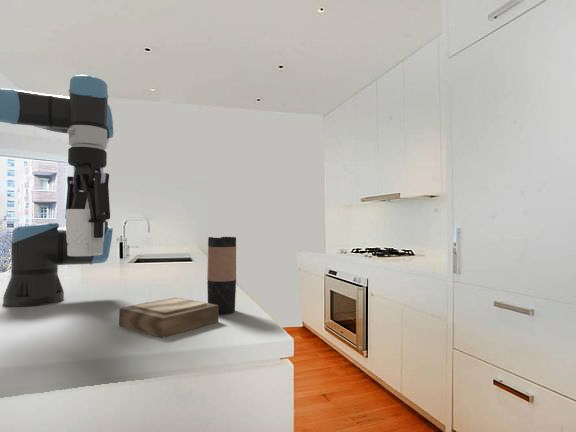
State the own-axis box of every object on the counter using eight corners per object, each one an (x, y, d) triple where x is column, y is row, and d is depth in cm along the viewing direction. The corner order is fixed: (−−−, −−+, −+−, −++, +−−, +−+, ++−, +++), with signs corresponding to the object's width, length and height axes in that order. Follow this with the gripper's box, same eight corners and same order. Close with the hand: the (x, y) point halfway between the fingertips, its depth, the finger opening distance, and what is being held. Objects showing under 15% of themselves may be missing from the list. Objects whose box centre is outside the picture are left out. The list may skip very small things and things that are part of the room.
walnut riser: (119, 325, 89) (119, 305, 89) (175, 312, 102) (175, 295, 102) (162, 337, 80) (162, 315, 80) (218, 321, 93) (218, 303, 93)
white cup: (77, 257, 79) (77, 208, 79) (57, 255, 83) (57, 209, 83) (112, 255, 85) (113, 210, 86) (92, 253, 90) (93, 210, 90)
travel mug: (230, 315, 99) (230, 237, 99) (202, 314, 100) (203, 237, 101) (239, 309, 106) (240, 236, 107) (213, 307, 108) (214, 236, 108)
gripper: (48, 150, 88) (46, 251, 87) (94, 139, 76) (92, 256, 75) (82, 155, 94) (80, 249, 93) (129, 146, 82) (128, 253, 81)
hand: (86, 252), depth 84 cm, fingers closed on white cup, 7 cm apart
